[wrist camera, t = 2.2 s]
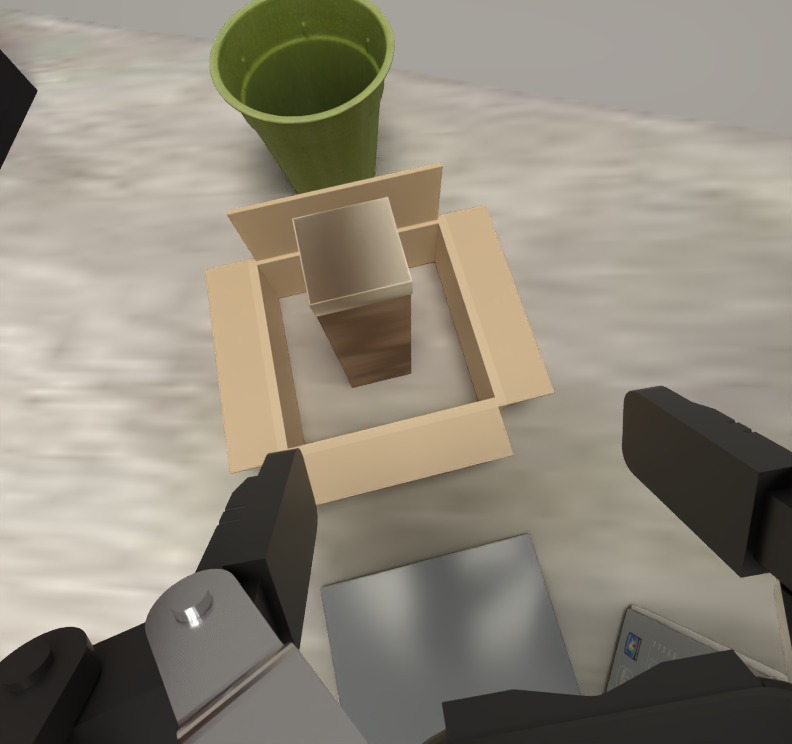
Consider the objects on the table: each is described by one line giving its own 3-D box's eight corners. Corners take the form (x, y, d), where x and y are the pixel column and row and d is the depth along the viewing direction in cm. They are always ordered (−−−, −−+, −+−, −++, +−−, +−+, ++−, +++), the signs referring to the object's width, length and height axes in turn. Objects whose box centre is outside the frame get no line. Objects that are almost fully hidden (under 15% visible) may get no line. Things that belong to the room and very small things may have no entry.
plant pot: (316, 106, 40) (281, -39, 29) (424, 157, 38) (429, 21, 27) (238, 197, 37) (169, 73, 27) (350, 258, 35) (324, 150, 25)
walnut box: (397, 319, 33) (387, 196, 20) (411, 373, 32) (412, 281, 19) (339, 333, 33) (292, 218, 20) (352, 388, 32) (309, 305, 19)
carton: (475, 245, 35) (499, 149, 26) (546, 450, 30) (609, 425, 21) (233, 302, 34) (165, 224, 25) (264, 521, 29) (194, 530, 20)
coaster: (527, 533, 29) (529, 534, 28) (607, 787, 24) (611, 794, 24) (322, 586, 28) (320, 588, 27) (368, 855, 24) (367, 864, 23)
